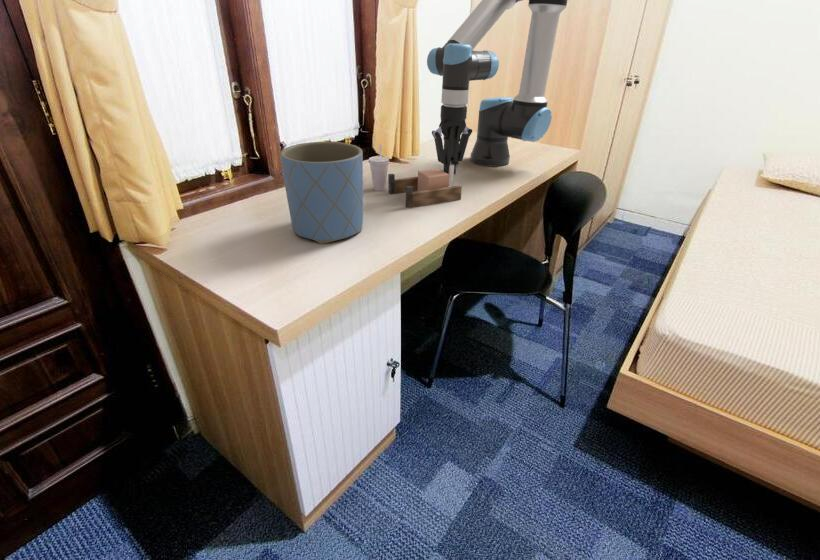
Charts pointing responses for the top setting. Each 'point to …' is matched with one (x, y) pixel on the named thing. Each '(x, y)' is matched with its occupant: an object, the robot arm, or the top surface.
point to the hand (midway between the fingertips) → (448, 184)
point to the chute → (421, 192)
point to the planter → (324, 189)
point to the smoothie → (379, 171)
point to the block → (432, 179)
